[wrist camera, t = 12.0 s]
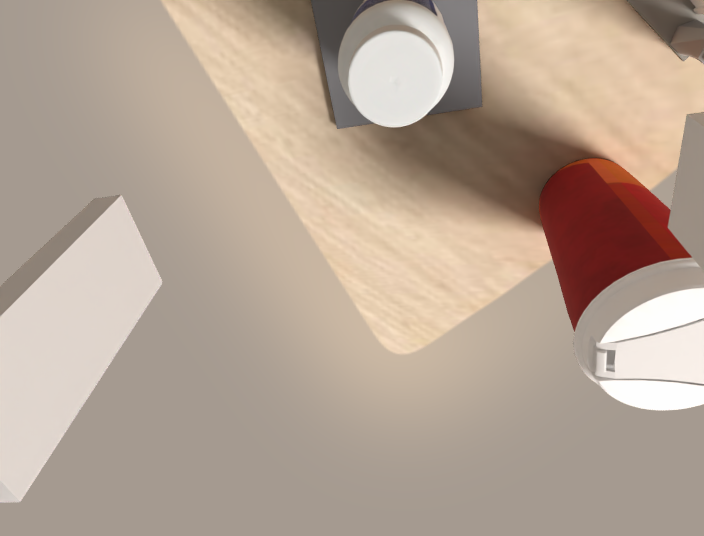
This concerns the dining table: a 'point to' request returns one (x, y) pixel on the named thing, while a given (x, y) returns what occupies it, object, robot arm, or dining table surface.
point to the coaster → (462, 24)
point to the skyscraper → (676, 24)
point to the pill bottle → (396, 60)
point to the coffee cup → (626, 286)
